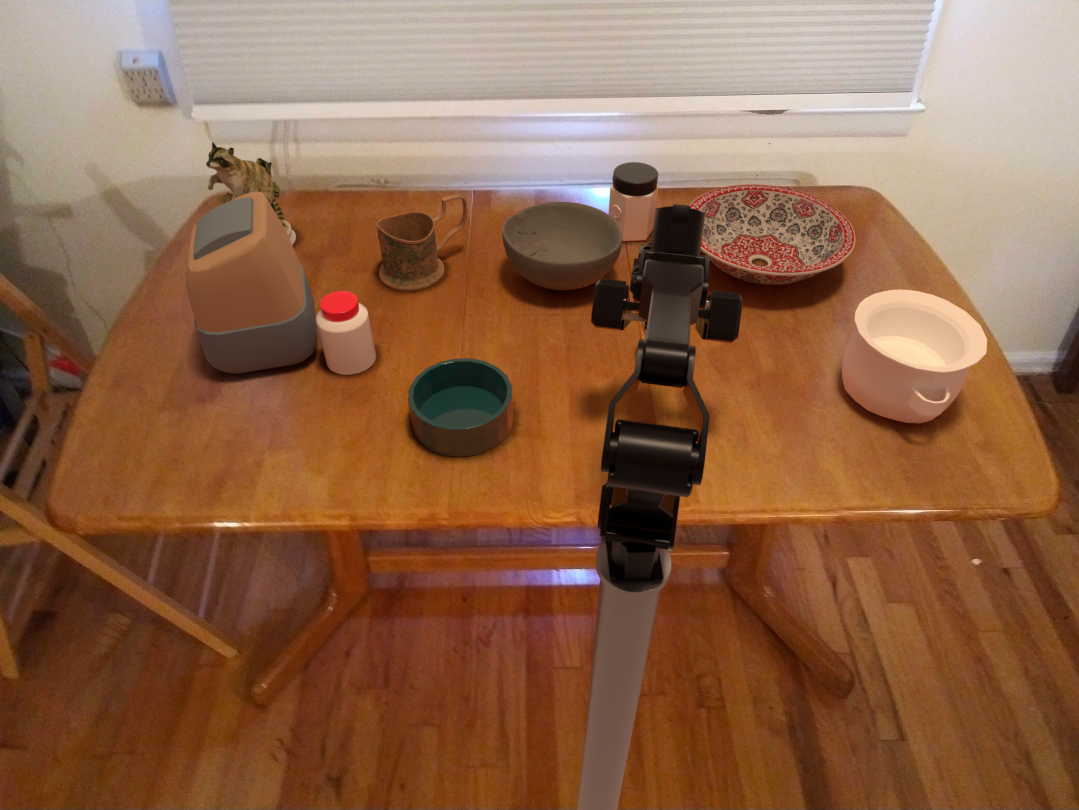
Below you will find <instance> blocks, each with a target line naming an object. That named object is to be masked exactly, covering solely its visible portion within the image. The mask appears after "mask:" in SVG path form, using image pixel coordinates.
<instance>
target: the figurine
mask: <svg viewBox="0 0 1079 810" xmlns="http://www.w3.org/2000/svg"><path fill="white" fill-rule="evenodd" d="M234 154H235V149H234V147H232V146H230V147H229V148H225V147H223V146H219V147H218V146H217V145H216V144H215V143H214V142H213V141H212V142H211V150H210V151H209V152H208V154H207V156H208V160H207V161H206V162H205V165H206V167H207V168H209V169H212V170H214V171H215V172H216V173H215V174H213V175H210V177H209V179H208V186H207V189H208V190H209V191H212V190H214V186H215V184H222V185H223V184H224V185H225V187H226V188H227V189H229V190H230V191H231V192H232V193H231V192H226V194H223V195H220V196H219V197H218V198H217V202H220V203H221V204H224V203H227V202H229V201H231V200H233V199H235V198H237V197H239V196H241V195H244V194H247V193H250V192H262V193H263V194H264V195H265V197H266V198H267V200H268V201H269V203H270V205H271V206H272V208H273V210H274V211H275V213H276V215H277V216H278V218H279V219H280V221H281V223H282V224H283V226H284V228H285V230H286V232H287V235H288V237H289V239H290V241H291V244H292V246H294V244H295V242H296V240H297V235H296V232H295V231H294V229H293V228H292V225H291V224H290V222H289V221H287V220H285V214H284V213H283V210H282V207H281V206H280V204H279V202H278V200H277V199H279V198H280V192H281V188H280V186H279V185H277V184H276V182H275V181H273V179H272V165H273V163H272V162H271V161H267V160H265V159H263V158H261V157H258V158H256V162H255V161H252V160H247V159H246V160H245V159H240V158H238V157H237V156H235V155H234Z"/></svg>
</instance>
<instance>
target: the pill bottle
mask: <svg viewBox="0 0 1079 810" xmlns="http://www.w3.org/2000/svg"><path fill="white" fill-rule="evenodd" d="M319 307H320V309H319V311H318V312H317V313H316V315H315V317H316V329H317V333H318V335H319V340H320V343H321V346H322V352H323V356H324V359H325V364H326V366H327V368H328V369H329V370H330V371H331V372H333V373H335V374H338V375H344V376H350V375H356V374H360V373H363V372H365V371H367V370H368V369H369V368H371V367H372V366H373V365H374V364H375V362H376V360H377V351H376V346H375V341H374V335H373V331H372V326H371V320H370V314H369V310H368V309H367V307H366V306H365V304H364V305H363V304H362V303H360V302H359V298H358V296H357V295H356V294H354V292H351V291H348V290H338V291H333V292H329V293H328V294H326V295H325V296H323V297H322V298H321V300H320V302H319Z"/></svg>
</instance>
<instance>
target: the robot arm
mask: <svg viewBox="0 0 1079 810" xmlns="http://www.w3.org/2000/svg"><path fill="white" fill-rule="evenodd" d="M704 219H705V213H704V212H701V211H699V210H696V209H692V208H690V206H689V205H687V204H678V203H673V204H672V205H671V206H661V207H656V210H655V217H654V225H653V230H652V232H651V233H652V234H651V239H650V240H649V242H647V244H643V243H642V244H639V246H638V256H637V257H634V259H633V265H632V271H631V278H630V282H629V284H627V280H617V279H607V278H601V279H600V280H598V281H597V282H595V286H594V293H593V300H592V308H591V309H592V310H591V317H590V323H591V324H592V325H593V327H594V328H595V329H603V330H611V331H612V330H613V331H624V330H625V329H626V328H627V327H628V325H630V323H631V322H632V321H634V322H640V323H641V322H645V328H644V330H646V335H645V334H644V336H645V337H644V339H638V342H637V349H636V350H637V351H636V357H635V364H634V371H633V373H631V375H630V376H629V378H628V379H627V380H626V381H625V382H624V384H623V385H622V386H621V388H620V389H619V390H618V391H617V393H616V394H614V396H613V397H612V399H611V400H610V402H609V403H608V411H607V418H606V425H605V432H604V439H603V446H602V453H601V463H600V472H604V473H607V480H606V482H605V483H604V484H603V485H601V491H600V500H599V508H598V517H597V528H598V529H599V530H600V533H599V537H600V538H601V539H600V541H601V542H602V541H606V550H607V559H608V568H609V577H610V581H611V582H612V583H638V582H661V581H663V577H664V576H663V570H662V564H661V558H660V553H659V550H660V549H666V550H668V551H669V552H673V551H674V548H675V547H674V546H675V539H676V531H677V525H678V516H679V509H680V501H681V497H682V498H689V497H690V496H691V495H692V492H693V487H694V486H701V485H702V482H703V477H704V470H705V463H706V453H707V444H708V434H709V426H710V413H709V411H708V408H707V407H706V404H705V402H704V400H703V398H702V395H701V393H700V391H699V389H698V387H697V385H696V383H695V381H694V370H695V363H696V351H697V345H691V326H692V325H695V326H694V327H695V328H694V329H695V330H696V332H697V333H698V335H699V337H700V338H701V339H702V340H704V341H711V342H719V343H728V344H732V343H733V342H735V341H736V340H737V339H738V338H739V334H740V329H741V328H740V327H741V318H742V312H743V311H742V310H743V305H744V303H743V302H744V301H743V300H744V299H743V296H742V295H741V294H740V293H739V292H731V291H722V290H721V291H720V290H711V291H710V292H711V293H709V285H710V265H711V264H710V262H711V261H710V256H705V255H701V250H700V249H701V242H702V234H703V226H704ZM630 293H631V294H632V299H633V301H631V299H630ZM633 312H634V313H633ZM640 384H644V385H645V384H646V385H653V386H660V387H662V386H663V387H668V388H669V387H670V388H677V389H682V392H683V396H684V397H685V400H686V402H687V405H688V407H689V408H690V411H691V413H692V415H693V418H694V419H695V422H696V424H697V426H698V430H697V428H689V427H680V426H674V425H666V424H660V423H651V422H643V421H636V420H629V419H628V420H627V419H623V418H622V419H620V418H618V419H616V416H617V414H618V413H619V412H620V411H621V409H622V408H623V407H624V406H625V404H626V403H627V402H628V401H629V399H631V397H632V396H633V394H634V393H635V392H636V391H637V390H638V388H639V386H640ZM608 541H611V542H608ZM658 577H661V578H658ZM612 578H616V579H615V580H614V579H612Z"/></svg>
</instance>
